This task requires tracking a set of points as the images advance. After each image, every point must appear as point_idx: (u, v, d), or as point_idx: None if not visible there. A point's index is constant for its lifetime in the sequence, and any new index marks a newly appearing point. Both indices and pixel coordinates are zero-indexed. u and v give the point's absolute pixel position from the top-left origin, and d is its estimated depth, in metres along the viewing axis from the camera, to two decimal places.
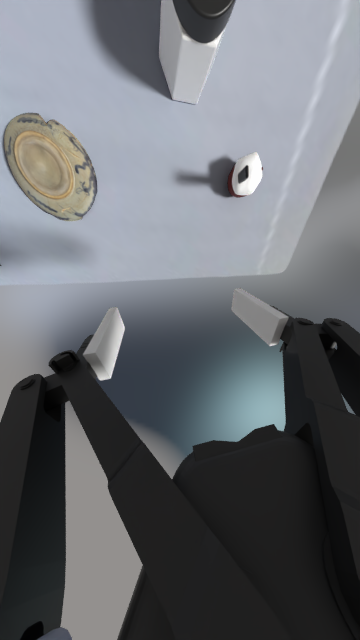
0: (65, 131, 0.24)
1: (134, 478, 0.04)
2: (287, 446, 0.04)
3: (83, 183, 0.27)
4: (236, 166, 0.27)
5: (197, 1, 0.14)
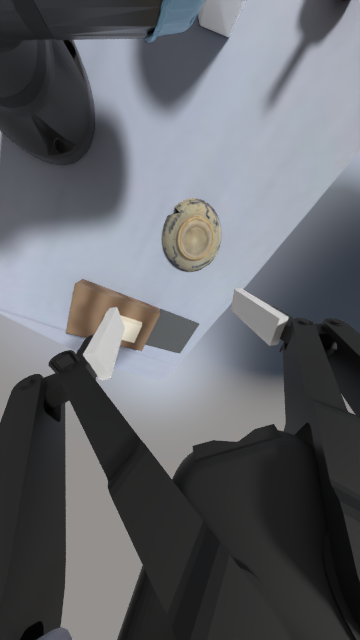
0: (186, 202, 0.28)
1: (134, 478, 0.04)
2: (287, 446, 0.04)
3: (214, 220, 0.30)
4: None
5: None
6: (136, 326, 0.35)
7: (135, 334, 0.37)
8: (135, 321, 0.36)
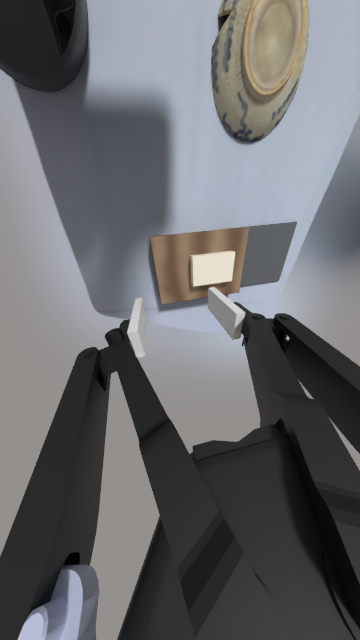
0: None
1: (161, 447, 0.04)
2: (287, 446, 0.04)
3: None
4: None
5: None
6: (229, 255, 0.28)
7: (231, 268, 0.29)
8: (224, 252, 0.29)
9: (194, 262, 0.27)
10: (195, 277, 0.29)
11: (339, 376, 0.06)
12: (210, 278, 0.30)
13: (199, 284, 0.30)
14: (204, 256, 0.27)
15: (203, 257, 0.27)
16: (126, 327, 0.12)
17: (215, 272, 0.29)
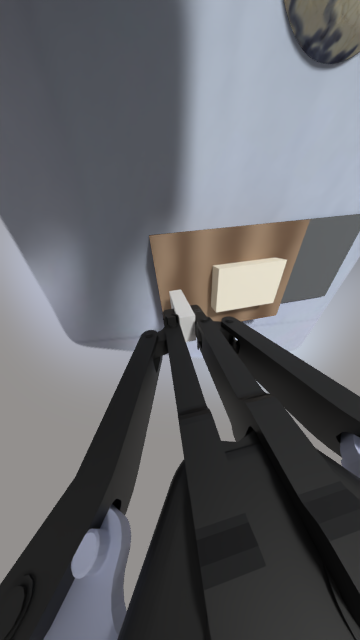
0: None
1: (197, 427, 0.05)
2: None
3: None
4: None
5: None
6: (277, 265, 0.17)
7: (275, 285, 0.19)
8: (266, 259, 0.18)
9: (222, 277, 0.17)
10: (220, 299, 0.18)
11: (288, 373, 0.07)
12: (242, 300, 0.19)
13: (225, 309, 0.19)
14: (237, 268, 0.17)
15: (236, 269, 0.17)
16: None
17: (251, 291, 0.19)
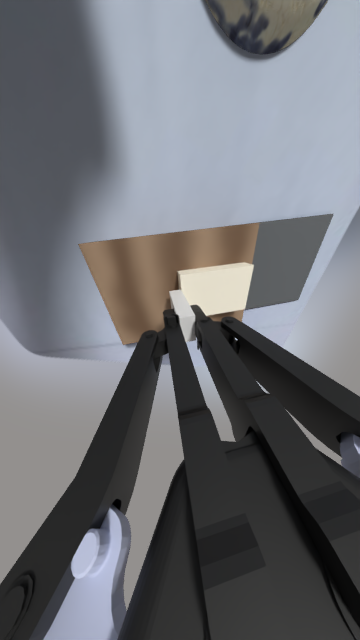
0: None
1: (196, 427, 0.05)
2: None
3: None
4: None
5: None
6: (244, 270, 0.16)
7: (245, 291, 0.18)
8: (234, 264, 0.17)
9: (184, 283, 0.16)
10: None
11: (289, 373, 0.07)
12: (211, 306, 0.18)
13: None
14: (200, 274, 0.16)
15: (199, 275, 0.16)
16: None
17: (219, 297, 0.18)
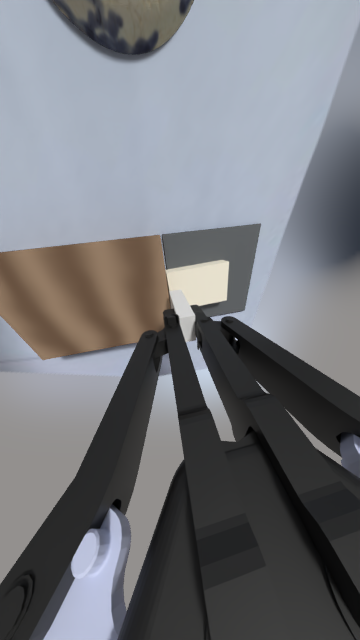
0: None
1: (196, 427, 0.05)
2: None
3: None
4: None
5: None
6: (221, 266, 0.19)
7: (224, 284, 0.21)
8: (213, 262, 0.20)
9: (170, 279, 0.19)
10: None
11: (288, 373, 0.07)
12: (196, 299, 0.21)
13: None
14: (183, 271, 0.19)
15: (182, 272, 0.19)
16: None
17: (202, 290, 0.21)
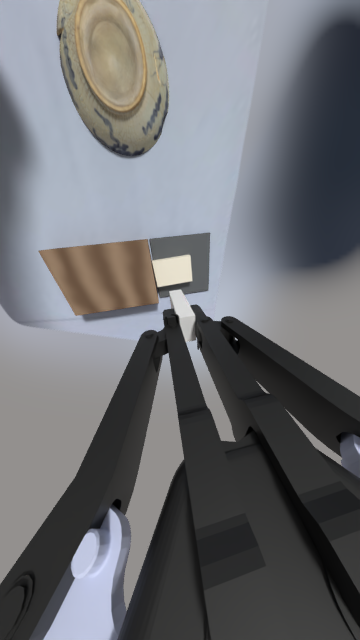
0: None
1: (196, 427, 0.05)
2: None
3: None
4: None
5: None
6: (185, 258, 0.32)
7: (189, 270, 0.33)
8: (181, 256, 0.33)
9: (155, 266, 0.32)
10: (158, 279, 0.33)
11: (288, 373, 0.07)
12: (171, 279, 0.34)
13: (162, 285, 0.34)
14: (162, 261, 0.31)
15: (162, 261, 0.31)
16: None
17: (175, 273, 0.33)
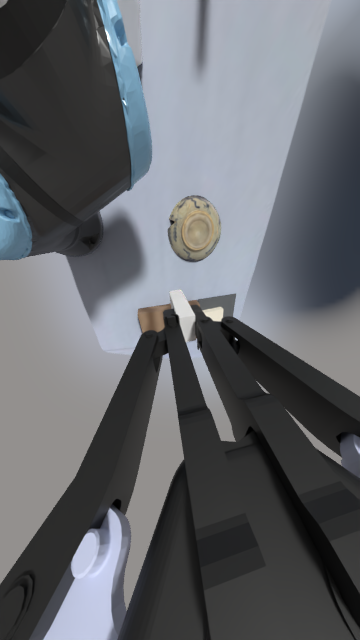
0: (176, 210, 0.33)
1: (196, 427, 0.05)
2: None
3: (204, 205, 0.33)
4: None
5: None
6: (220, 310, 0.49)
7: (221, 316, 0.50)
8: (217, 308, 0.50)
9: None
10: None
11: (288, 373, 0.07)
12: None
13: None
14: (205, 313, 0.48)
15: (205, 313, 0.48)
16: None
17: (212, 319, 0.50)
